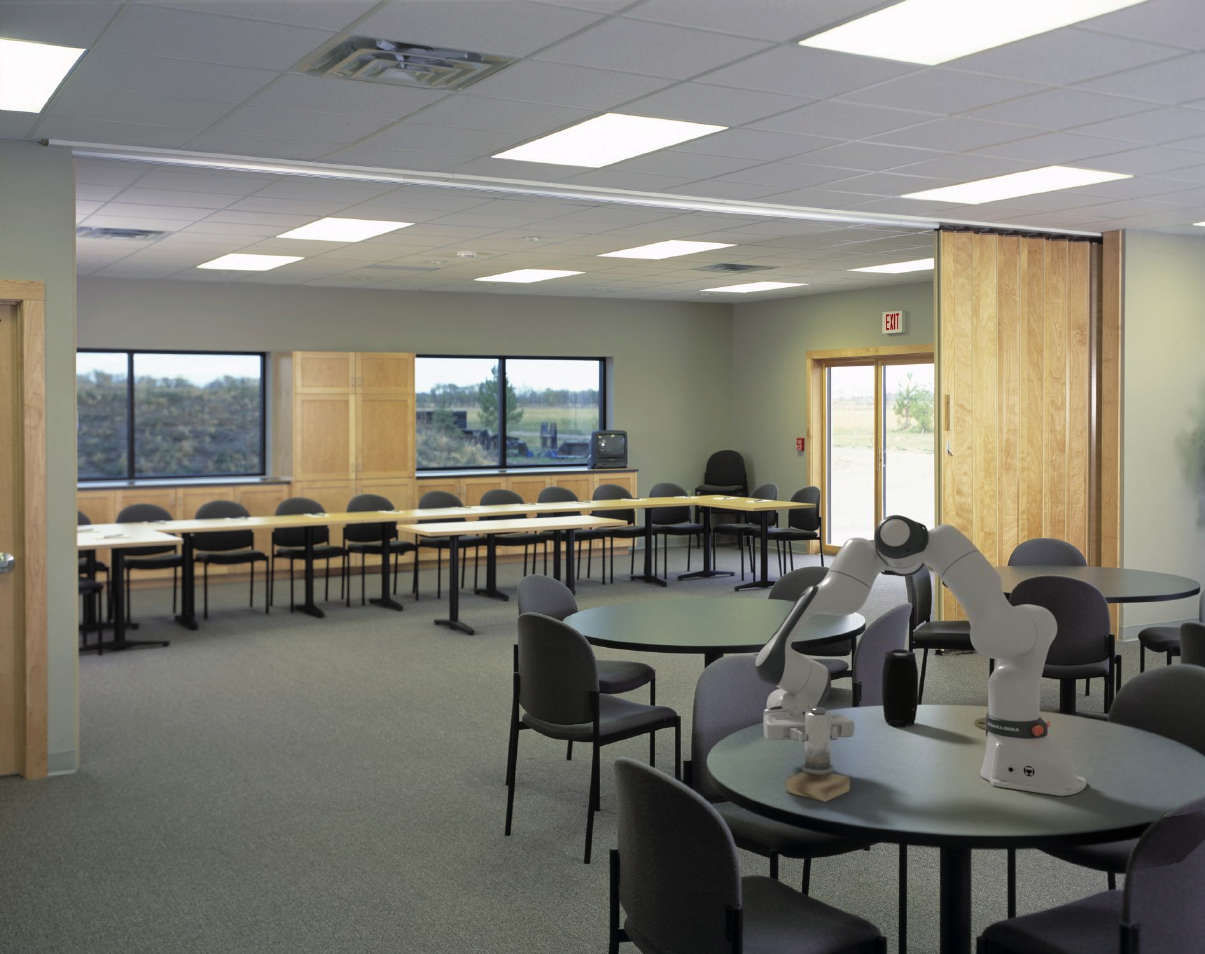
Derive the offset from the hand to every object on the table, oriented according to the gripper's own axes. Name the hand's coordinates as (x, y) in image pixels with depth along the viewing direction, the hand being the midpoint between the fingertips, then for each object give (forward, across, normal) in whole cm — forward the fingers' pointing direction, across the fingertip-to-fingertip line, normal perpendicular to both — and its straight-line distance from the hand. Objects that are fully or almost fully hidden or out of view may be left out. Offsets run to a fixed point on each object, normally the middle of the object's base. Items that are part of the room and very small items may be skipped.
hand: (819, 737), depth 252 cm
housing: (-1, 0, -8) cm, 8 cm away
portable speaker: (-52, -40, -13) cm, 67 cm away
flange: (-46, -67, -13) cm, 82 cm away
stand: (-1, 0, -12) cm, 12 cm away
